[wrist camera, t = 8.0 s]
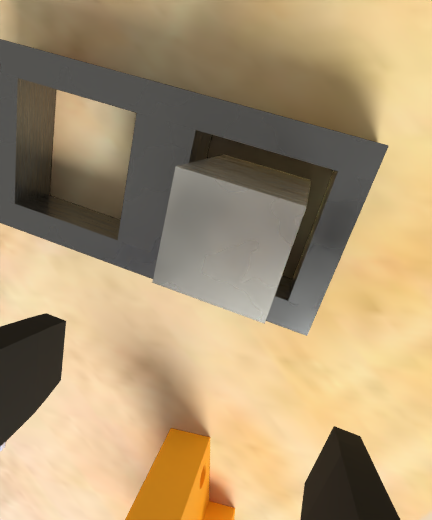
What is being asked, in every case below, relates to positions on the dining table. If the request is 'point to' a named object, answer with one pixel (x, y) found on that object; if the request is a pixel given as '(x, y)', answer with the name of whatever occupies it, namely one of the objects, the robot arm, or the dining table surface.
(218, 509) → the pipe clamp
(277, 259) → the block
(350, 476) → the robot arm
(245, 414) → the dining table surface
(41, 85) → the dark grey flat frame
